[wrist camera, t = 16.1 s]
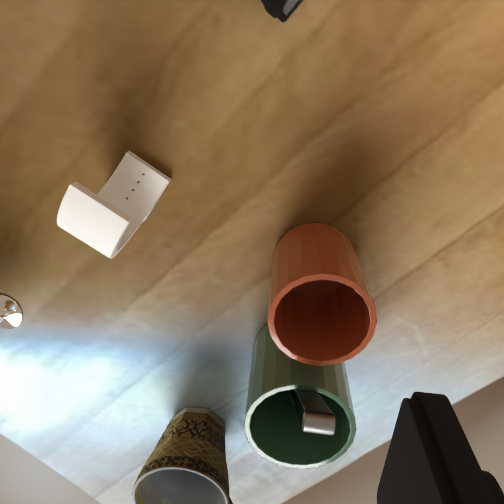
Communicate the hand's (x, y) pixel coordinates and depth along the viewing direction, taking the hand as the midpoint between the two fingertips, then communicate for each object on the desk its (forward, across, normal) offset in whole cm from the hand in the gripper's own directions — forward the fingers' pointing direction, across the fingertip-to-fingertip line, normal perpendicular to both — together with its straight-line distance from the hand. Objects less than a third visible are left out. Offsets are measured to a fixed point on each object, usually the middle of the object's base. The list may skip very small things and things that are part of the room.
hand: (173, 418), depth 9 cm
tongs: (+32, -6, +20) cm, 39 cm away
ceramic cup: (+33, +4, +36) cm, 49 cm away
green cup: (+33, -6, +22) cm, 40 cm away
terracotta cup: (+33, -6, +11) cm, 35 cm away
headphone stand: (+33, +12, +5) cm, 35 cm away
